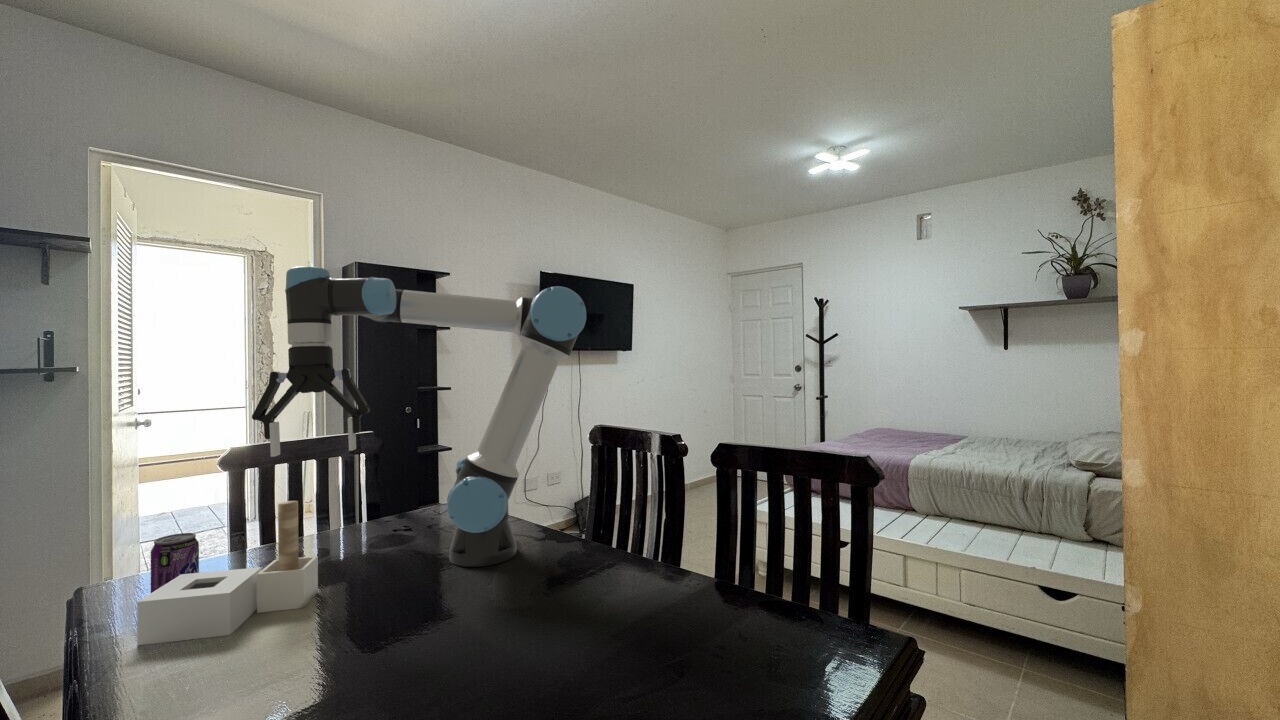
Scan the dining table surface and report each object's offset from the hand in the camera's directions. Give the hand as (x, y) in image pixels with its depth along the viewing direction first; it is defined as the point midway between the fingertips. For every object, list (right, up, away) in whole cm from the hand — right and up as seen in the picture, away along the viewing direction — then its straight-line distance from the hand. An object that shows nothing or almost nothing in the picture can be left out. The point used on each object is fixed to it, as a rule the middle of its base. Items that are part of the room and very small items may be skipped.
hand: (314, 452), depth 107 cm
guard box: (-12, -28, -13) cm, 33 cm away
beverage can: (-25, -28, -3) cm, 38 cm away
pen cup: (-2, -28, -4) cm, 28 cm away
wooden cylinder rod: (-2, -27, -4) cm, 27 cm away
